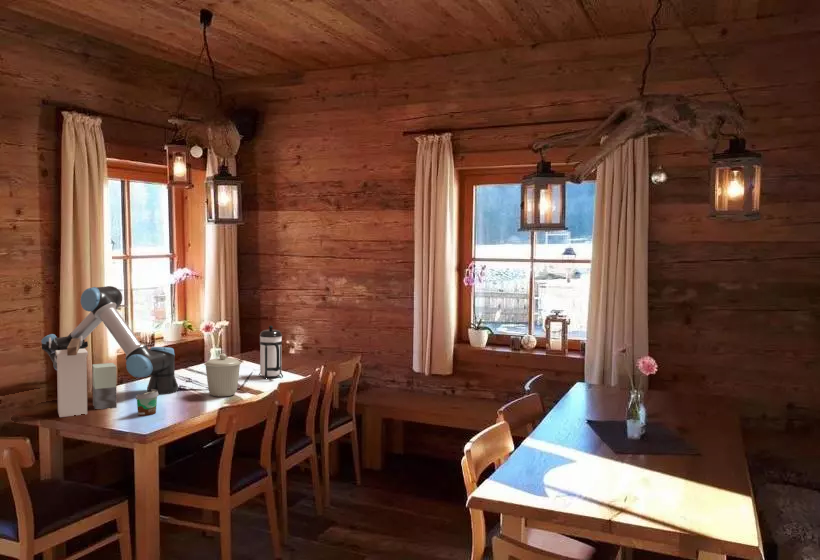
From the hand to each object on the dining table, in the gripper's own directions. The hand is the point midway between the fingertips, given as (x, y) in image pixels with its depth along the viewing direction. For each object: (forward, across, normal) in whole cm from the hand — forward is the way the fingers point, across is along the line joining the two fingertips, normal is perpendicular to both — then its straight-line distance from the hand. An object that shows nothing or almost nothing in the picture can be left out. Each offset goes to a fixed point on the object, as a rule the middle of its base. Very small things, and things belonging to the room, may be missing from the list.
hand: (66, 339), depth 322 cm
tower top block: (+10, -14, -29) cm, 33 cm away
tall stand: (+10, 0, -40) cm, 41 cm away
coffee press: (-19, -106, -23) cm, 110 cm away
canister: (+7, -69, -38) cm, 79 cm away
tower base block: (+5, -14, -37) cm, 40 cm away
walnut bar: (+22, -1, -15) cm, 27 cm away
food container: (+26, -30, -49) cm, 63 cm away
